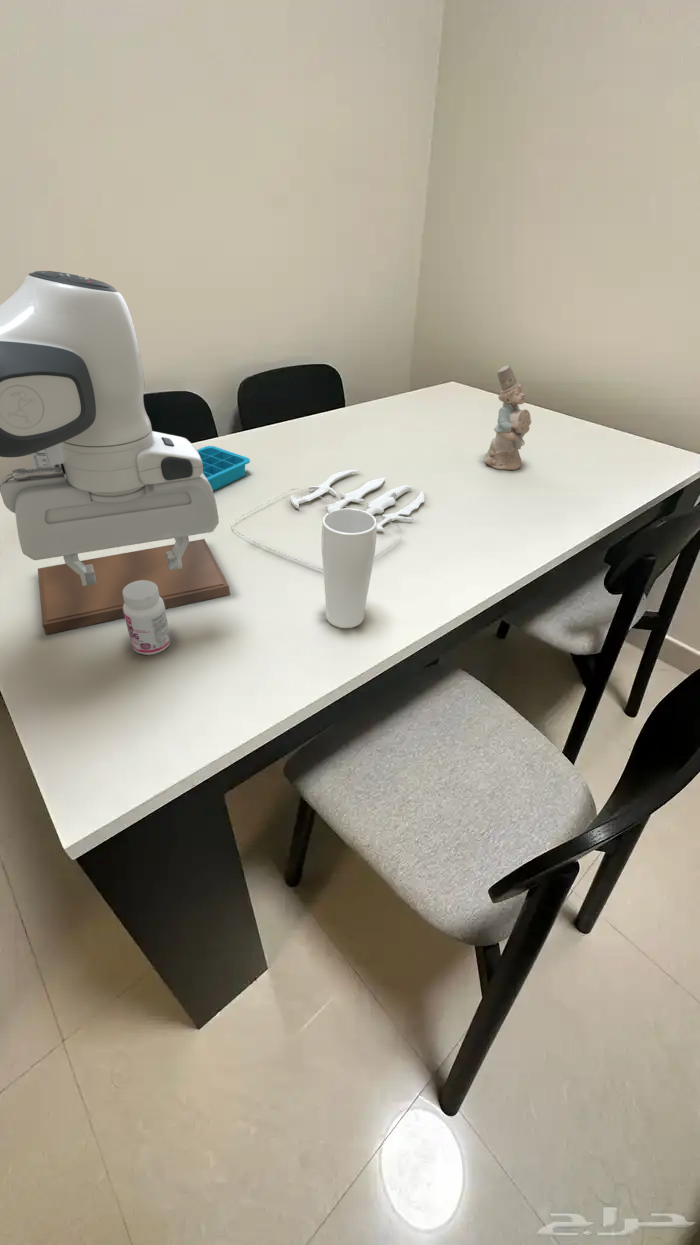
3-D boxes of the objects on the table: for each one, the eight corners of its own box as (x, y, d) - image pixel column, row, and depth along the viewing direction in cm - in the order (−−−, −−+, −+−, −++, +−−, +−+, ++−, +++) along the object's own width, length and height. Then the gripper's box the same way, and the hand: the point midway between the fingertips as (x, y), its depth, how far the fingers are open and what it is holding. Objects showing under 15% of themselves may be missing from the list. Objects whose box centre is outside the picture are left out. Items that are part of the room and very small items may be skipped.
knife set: (452, 502, 109) (453, 496, 108) (344, 584, 86) (345, 578, 85) (341, 465, 120) (341, 460, 119) (219, 529, 97) (218, 523, 96)
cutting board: (46, 634, 74) (42, 624, 73) (40, 577, 84) (37, 567, 83) (229, 594, 83) (229, 585, 82) (205, 547, 92) (204, 538, 91)
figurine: (473, 462, 124) (491, 364, 112) (493, 452, 130) (512, 357, 117) (509, 475, 120) (533, 374, 108) (529, 464, 125) (553, 366, 113)
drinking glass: (369, 634, 77) (378, 535, 68) (318, 632, 77) (320, 532, 68) (369, 604, 82) (376, 508, 73) (321, 602, 82) (323, 506, 73)
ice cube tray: (253, 474, 115) (253, 459, 113) (176, 510, 102) (173, 495, 100) (211, 458, 120) (209, 444, 118) (132, 492, 106) (128, 476, 105)
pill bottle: (123, 649, 72) (109, 594, 67) (147, 628, 76) (136, 574, 71) (155, 660, 71) (144, 605, 66) (178, 637, 75) (169, 583, 70)
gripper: (-7, 485, 52) (34, 608, 61) (217, 459, 60) (226, 572, 68) (-7, 458, 57) (32, 577, 65) (202, 438, 64) (212, 546, 73)
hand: (133, 574), depth 67 cm, fingers open, 8 cm apart
